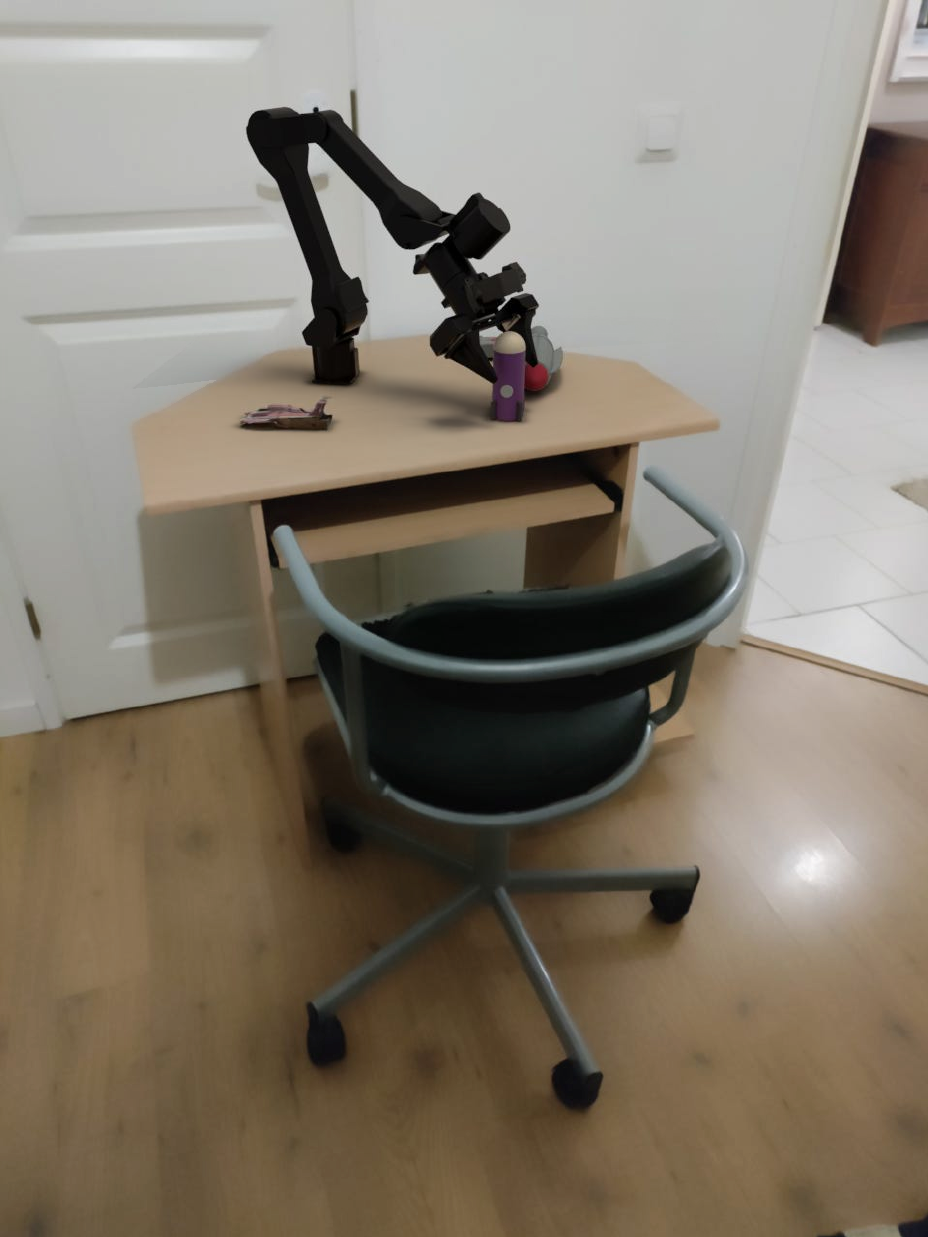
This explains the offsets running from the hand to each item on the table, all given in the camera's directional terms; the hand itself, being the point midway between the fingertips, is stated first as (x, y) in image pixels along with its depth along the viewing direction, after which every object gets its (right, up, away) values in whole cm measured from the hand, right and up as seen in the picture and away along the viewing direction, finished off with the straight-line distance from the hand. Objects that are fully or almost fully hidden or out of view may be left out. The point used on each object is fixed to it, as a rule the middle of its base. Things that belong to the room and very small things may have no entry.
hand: (516, 373), depth 129 cm
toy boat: (-33, -7, +2) cm, 34 cm away
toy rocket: (-1, -5, +4) cm, 7 cm away
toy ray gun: (+1, +5, +20) cm, 21 cm away
